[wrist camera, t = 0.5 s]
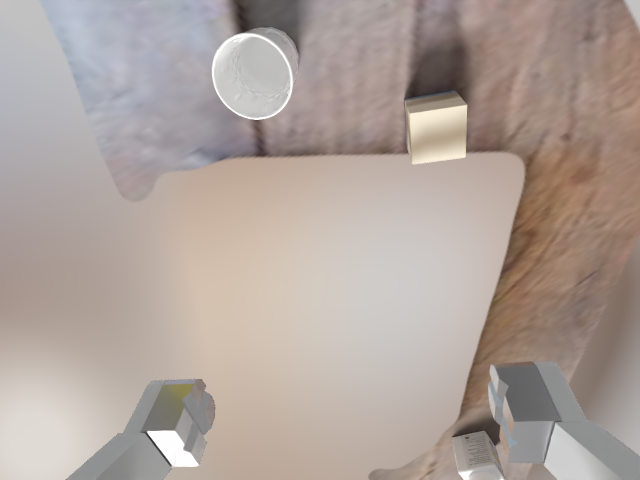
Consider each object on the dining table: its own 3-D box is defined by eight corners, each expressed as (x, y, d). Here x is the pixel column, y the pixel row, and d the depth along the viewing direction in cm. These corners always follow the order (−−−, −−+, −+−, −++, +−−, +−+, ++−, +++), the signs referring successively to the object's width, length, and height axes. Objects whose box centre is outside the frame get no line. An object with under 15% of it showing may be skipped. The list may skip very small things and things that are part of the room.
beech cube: (403, 98, 47) (409, 113, 42) (455, 90, 46) (467, 104, 41) (406, 145, 51) (412, 164, 46) (454, 138, 50) (465, 157, 45)
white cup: (313, 80, 47) (305, 104, 39) (255, 102, 49) (235, 129, 41) (288, 9, 43) (272, 18, 35) (225, 36, 45) (196, 51, 37)
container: (495, 446, 89) (514, 510, 79) (462, 453, 92) (476, 516, 82) (484, 429, 86) (502, 494, 75) (450, 437, 89) (463, 500, 78)
